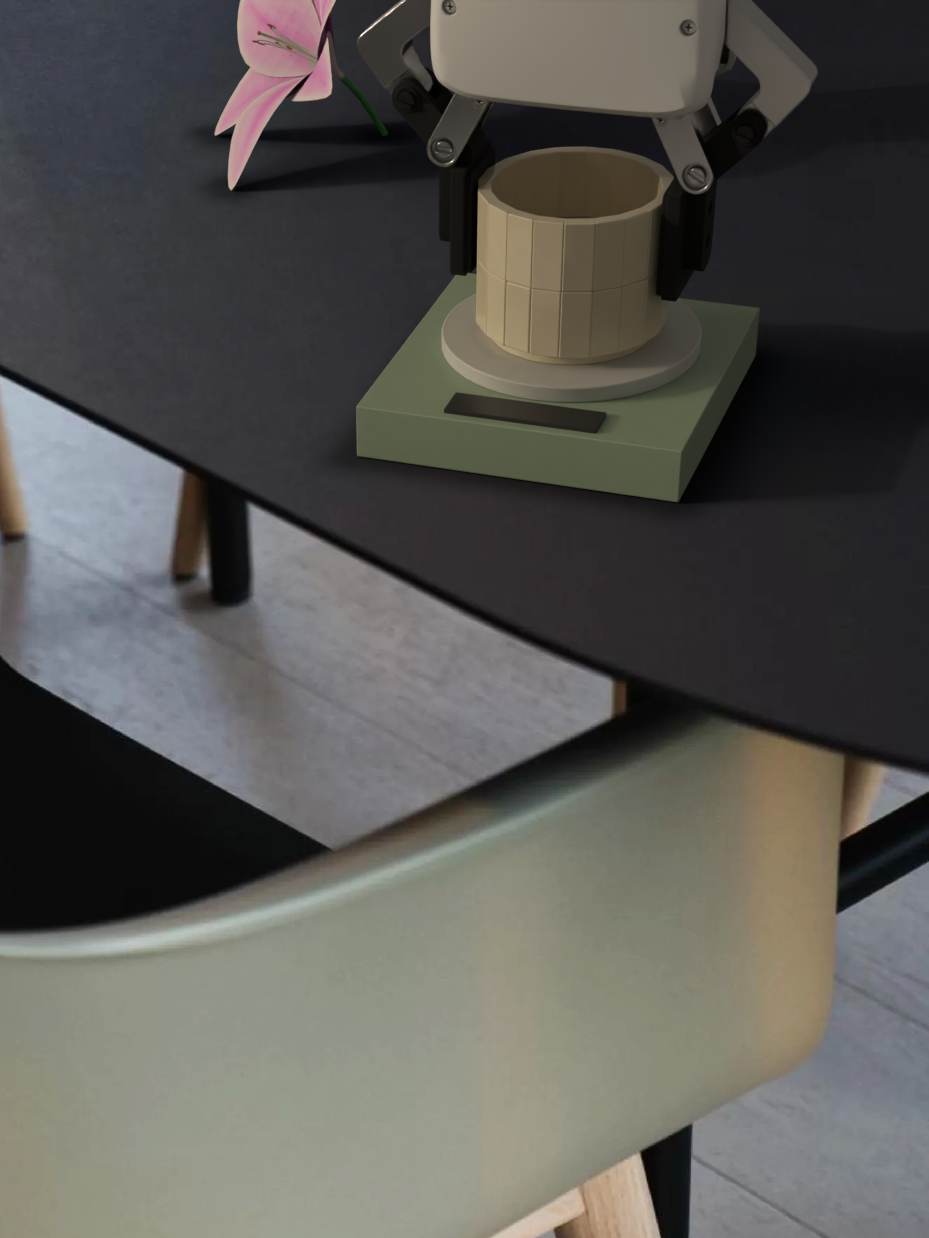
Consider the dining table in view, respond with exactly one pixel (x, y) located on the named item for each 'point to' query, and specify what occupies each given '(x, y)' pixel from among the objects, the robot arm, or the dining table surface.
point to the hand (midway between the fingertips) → (572, 269)
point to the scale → (559, 401)
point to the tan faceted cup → (570, 254)
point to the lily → (280, 68)
